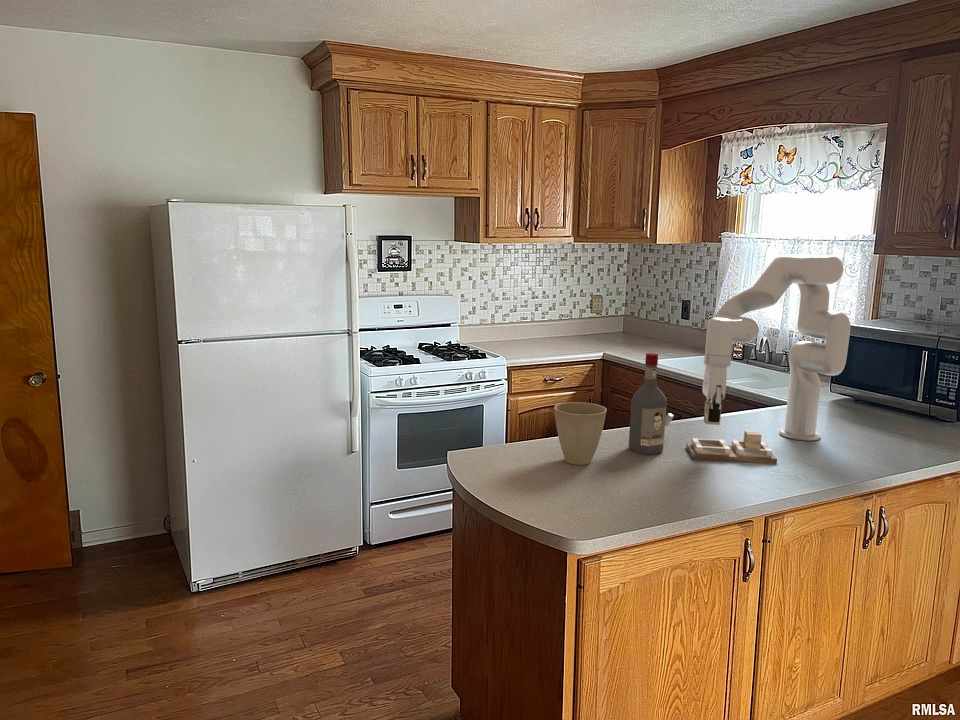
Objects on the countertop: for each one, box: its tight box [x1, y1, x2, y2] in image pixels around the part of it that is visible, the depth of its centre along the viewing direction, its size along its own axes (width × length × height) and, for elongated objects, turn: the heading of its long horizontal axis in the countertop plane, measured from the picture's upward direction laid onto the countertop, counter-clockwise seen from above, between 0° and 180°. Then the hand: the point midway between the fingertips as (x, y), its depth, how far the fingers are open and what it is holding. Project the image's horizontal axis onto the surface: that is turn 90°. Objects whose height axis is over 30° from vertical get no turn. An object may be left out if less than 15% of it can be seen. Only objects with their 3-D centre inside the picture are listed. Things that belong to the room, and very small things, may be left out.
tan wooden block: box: [703, 401, 723, 426], centre depth 226 cm, size 4×4×6 cm
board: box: [686, 430, 778, 465], centre depth 227 cm, size 12×24×8 cm, turn 84°
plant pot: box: [554, 401, 608, 466], centre depth 218 cm, size 15×15×16 cm
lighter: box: [664, 412, 674, 436], centre depth 247 cm, size 7×2×8 cm, turn 42°
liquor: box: [628, 352, 667, 456], centre depth 229 cm, size 9×9×30 cm
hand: (712, 419), depth 226 cm, fingers closed on tan wooden block, 3 cm apart
